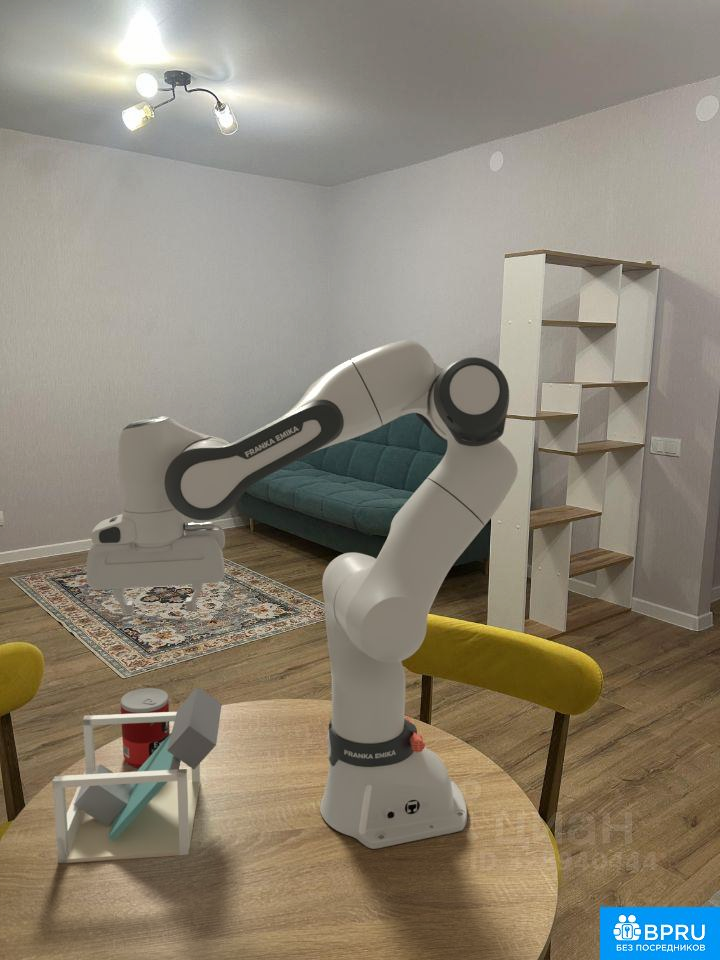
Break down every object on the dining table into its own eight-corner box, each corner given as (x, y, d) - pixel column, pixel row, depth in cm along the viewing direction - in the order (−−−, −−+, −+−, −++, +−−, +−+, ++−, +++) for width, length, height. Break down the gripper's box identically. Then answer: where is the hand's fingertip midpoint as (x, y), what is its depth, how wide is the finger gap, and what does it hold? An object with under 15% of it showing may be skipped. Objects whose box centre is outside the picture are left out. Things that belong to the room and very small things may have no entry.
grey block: (132, 785, 112) (100, 764, 111) (127, 803, 108) (93, 781, 106) (114, 807, 112) (81, 786, 111) (107, 826, 108) (73, 805, 107)
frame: (200, 781, 120) (198, 710, 118) (188, 854, 103) (185, 773, 101) (89, 787, 118) (84, 715, 116) (58, 863, 101) (52, 781, 99)
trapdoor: (222, 700, 116) (198, 683, 115) (215, 748, 103) (188, 729, 102) (140, 791, 117) (116, 775, 116) (123, 851, 104) (96, 833, 103)
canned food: (158, 772, 123) (155, 711, 121) (114, 766, 124) (111, 706, 122) (178, 747, 130) (176, 690, 128) (136, 742, 132) (134, 685, 130)
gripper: (224, 516, 115) (229, 600, 118) (89, 523, 112) (96, 608, 115) (223, 526, 109) (228, 615, 111) (79, 534, 106) (87, 624, 109)
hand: (160, 612), depth 113 cm, fingers open, 8 cm apart
